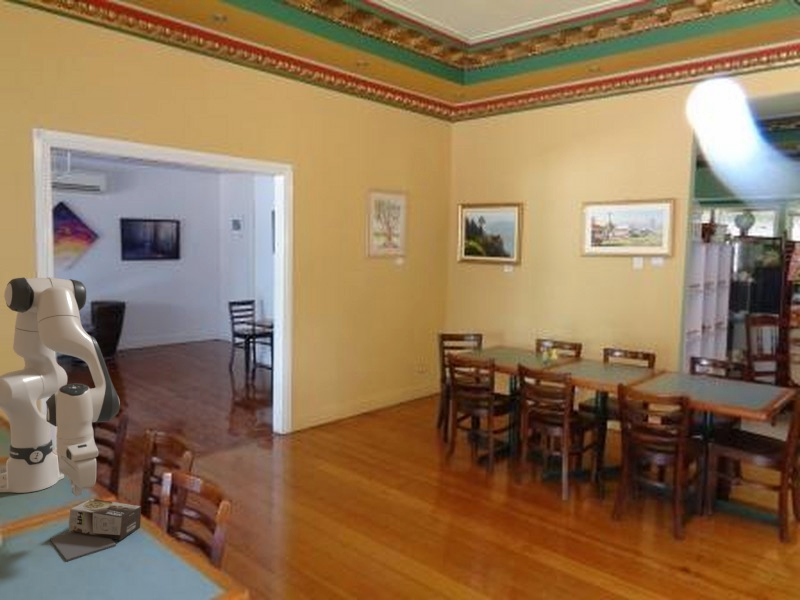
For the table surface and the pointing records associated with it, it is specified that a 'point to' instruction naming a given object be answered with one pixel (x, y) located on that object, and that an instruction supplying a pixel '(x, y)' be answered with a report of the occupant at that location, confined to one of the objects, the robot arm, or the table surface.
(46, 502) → the table surface
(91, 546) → the mat
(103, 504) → the coffee box
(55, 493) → the table surface
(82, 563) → the table surface
